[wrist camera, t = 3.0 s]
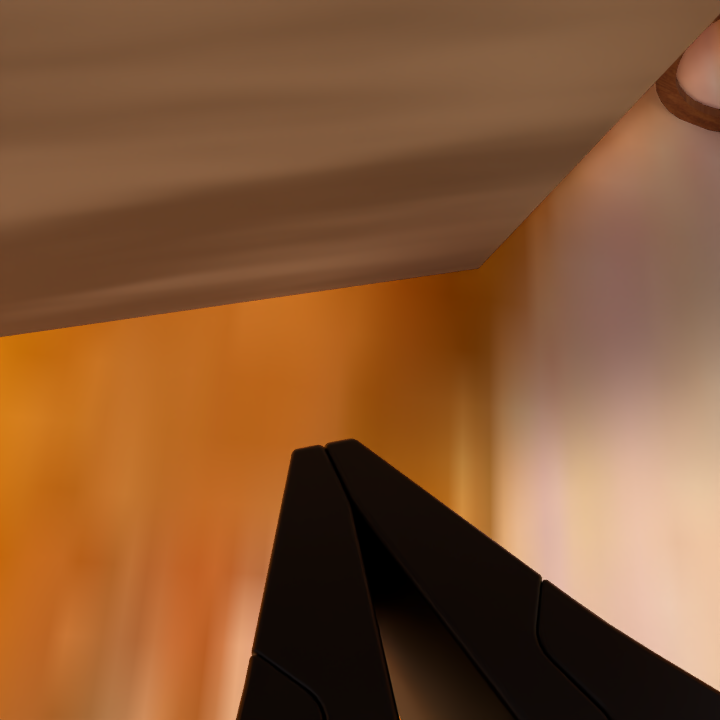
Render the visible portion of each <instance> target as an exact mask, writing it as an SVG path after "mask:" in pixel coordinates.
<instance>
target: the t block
mask: <svg viewBox="0 0 720 720" xmlns="http://www.w3.org/2000/svg"><path fill="white" fill-rule="evenodd" d="M719 14H720V0H0V337H3V336H10V335H17V334H24V333H31V332H38V331H45V330H52V329H59V328H66V327H73V326H80V325H87V324H94V323H101V322H108V321H115V320H122V319H129V318H136V317H142V316H149V315H156V314H163V313H170V312H177V311H184V310H191V309H198V308H205V307H212V306H219V305H226V304H233V303H240V302H247V301H254V300H261V299H268V298H275V297H282V296H289V295H296V294H303V293H310V292H317V291H324V290H331V289H338V288H344V287H351V286H358V285H365V284H372V283H379V282H386V281H393V280H400V279H407V278H414V277H421V276H428V275H435V274H442V273H449V272H456V271H463V270H470V269H477V268H479V267H480V266H481V265H482V264H483V263H484V262H485V261H486V260H487V259H488V258H489V257H490V256H491V255H492V254H493V252H494V251H495V250H496V249H497V248H498V247H499V246H500V245H501V244H502V243H503V242H504V241H505V240H506V239H507V238H508V237H509V236H510V235H511V234H512V232H513V231H514V230H515V229H516V228H517V227H518V226H519V225H520V224H521V223H522V222H523V221H524V220H525V219H526V218H527V217H528V216H529V215H530V213H531V212H532V211H533V210H534V209H535V208H536V207H537V206H538V205H539V204H540V203H541V202H542V201H543V200H544V199H545V198H546V197H547V196H548V195H549V193H550V192H551V191H552V190H553V189H554V188H555V187H556V186H557V185H558V184H559V183H560V182H561V181H562V180H563V179H564V178H565V177H566V176H567V174H568V173H569V172H570V171H571V170H572V169H573V168H574V167H575V166H576V165H577V164H578V163H579V162H580V161H581V160H582V159H583V158H584V157H585V156H586V154H587V153H588V152H589V151H590V150H591V149H592V148H593V147H594V146H595V145H596V144H597V143H598V142H599V141H600V140H601V139H602V138H603V137H604V136H605V134H606V133H607V132H608V131H609V130H610V129H611V128H612V127H613V126H614V125H615V124H616V123H617V122H618V121H619V120H620V119H621V118H622V117H623V115H624V114H625V113H626V112H627V111H628V110H629V109H630V108H631V107H632V106H633V105H634V104H635V103H636V102H637V101H638V100H639V99H640V98H641V97H642V95H643V94H644V93H645V92H646V91H647V90H648V89H649V88H650V87H651V86H652V85H653V84H654V83H655V82H656V81H657V80H658V79H659V78H660V76H661V75H662V74H663V73H664V72H665V71H666V70H667V69H668V68H669V67H670V66H671V65H672V64H673V63H674V62H675V61H676V60H677V59H678V58H679V56H680V55H681V54H682V53H683V52H684V51H685V50H686V49H687V48H688V47H689V46H690V45H691V44H692V43H693V42H694V41H695V40H696V39H697V37H698V36H699V35H700V34H701V33H702V32H703V31H704V30H705V29H706V28H707V27H708V26H709V25H710V24H711V23H712V22H713V21H714V20H715V19H716V17H717V16H718V15H719Z"/></svg>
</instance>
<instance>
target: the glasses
mask: <svg viewBox="0 0 720 720" xmlns="http://www.w3.org/2000/svg"><path fill="white" fill-rule="evenodd" d="M719 19H720V14H719V15H718V16H717V17H716V19H715V20H714V21H713V22H712V23H714V22H716V21H717V20H719ZM712 23H711V24H712ZM711 24H710V25H711ZM710 25H709V26H710ZM685 51H686V50H685ZM685 51H684V52H685ZM684 52H683V53H682V54H681V55H680V56H679V58H678V59H677V60H676V61H675V62H674V63H673V64H672V65H671V66H670V67H669V68H668V69H667V70H666V71H665V72H664V73H663V74H662V75H661V76H660V78H659V79H658V80H657V81H656V91H657V93H658V95H659V98H660V100H661V102H662V103H663V104H664V106H665V107H666V108H667V109H668V110H669V111H670V112H671V113H672V114H674V115H675V116H676V117H678V118H679V119H682V120H684V121H687V122H689V123H692V124H695V125H697V126H700V127H702V128H705V129H707V130H712V131H719V132H720V109H716V108H712V107H709V106H706V105H703V104H701V103H699V102H697V101H695V100H693V99H692V98H691V97H690V96H688V95H687V94H686V93H685V92H684V91H683V89H682V88H681V87H680V85H679V83H678V80H677V78H676V71H677V67H678V64H679V62H680V60H681V57H682V55H683V54H684Z"/></svg>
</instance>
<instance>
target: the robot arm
mask: <svg viewBox="0 0 720 720" xmlns="http://www.w3.org/2000/svg"><path fill="white" fill-rule="evenodd" d="M398 713H399V714H398ZM399 716H400V718H401V720H720V692H719V691H718V690H716V689H714V688H713V687H711V686H709V685H708V684H706V683H704V682H703V681H701V680H699V679H698V678H696V677H694V676H693V675H691V674H689V673H688V672H686V671H685V670H683V669H681V668H680V667H678V666H676V665H675V664H673V663H671V662H670V661H668V660H666V659H665V658H663V657H661V656H660V655H658V654H656V653H655V652H653V651H651V650H650V649H648V648H647V647H645V646H643V645H642V644H640V643H639V642H637V641H635V640H634V639H632V638H631V637H629V636H628V635H626V634H624V633H623V632H621V631H620V630H618V629H616V628H615V627H613V626H612V625H610V624H609V623H607V622H606V621H604V620H603V619H601V618H600V617H599V616H597V615H596V614H594V613H593V612H591V611H590V610H589V609H587V608H586V607H584V606H583V605H581V604H580V603H578V602H577V601H576V600H574V599H573V598H571V597H570V596H569V595H567V594H566V593H564V592H563V591H562V590H560V589H559V588H558V587H556V586H555V585H554V584H552V583H551V582H550V581H548V580H543V581H542V577H541V575H540V574H538V573H537V572H536V571H534V570H533V569H531V568H530V567H529V566H527V565H526V564H525V563H523V562H522V561H521V560H519V559H518V558H516V557H515V556H514V555H512V554H511V553H510V552H508V551H507V550H506V549H504V548H503V547H502V546H500V545H499V544H497V543H496V542H495V541H493V540H492V539H491V538H489V537H488V536H487V535H485V534H484V533H482V532H481V531H480V530H478V529H477V528H476V527H474V526H473V525H472V524H470V523H469V522H468V521H466V520H465V519H463V518H462V517H461V516H459V515H458V514H457V513H455V512H454V511H453V510H451V509H450V508H448V507H447V506H446V505H444V504H443V503H442V502H440V501H439V500H438V499H436V498H435V497H434V496H432V495H431V494H429V493H428V492H427V491H425V490H424V489H423V488H421V487H420V486H419V485H417V484H416V483H414V482H413V481H412V480H410V479H409V478H408V477H406V476H405V475H404V474H402V473H401V472H400V471H398V470H397V469H395V468H394V467H393V466H391V465H390V464H389V463H387V462H386V461H385V460H383V459H382V458H380V457H379V456H378V455H376V454H375V453H374V452H372V451H371V450H370V449H368V448H367V447H366V446H364V445H363V444H361V443H360V442H359V441H357V440H355V439H345V440H340V441H335V442H330V443H327V444H326V445H325V447H323V446H321V445H315V446H309V447H304V448H299V449H295V450H294V451H293V453H292V455H291V460H290V465H289V470H288V475H287V480H286V485H285V490H284V494H283V499H282V504H281V509H280V514H279V519H278V524H277V529H276V534H275V539H274V544H273V549H272V554H271V559H270V563H269V568H268V573H267V578H266V583H265V588H264V593H263V598H262V603H261V608H260V613H259V618H258V623H257V628H256V632H255V637H254V642H253V647H252V656H251V657H250V660H249V665H248V670H247V675H246V679H245V684H244V689H243V693H242V697H241V701H240V705H239V709H238V714H237V718H236V720H400V719H399Z"/></svg>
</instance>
